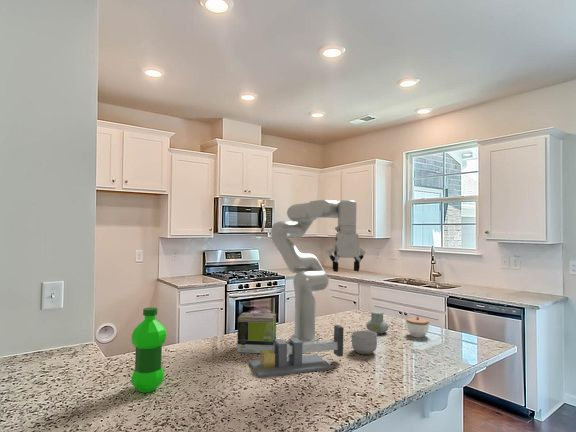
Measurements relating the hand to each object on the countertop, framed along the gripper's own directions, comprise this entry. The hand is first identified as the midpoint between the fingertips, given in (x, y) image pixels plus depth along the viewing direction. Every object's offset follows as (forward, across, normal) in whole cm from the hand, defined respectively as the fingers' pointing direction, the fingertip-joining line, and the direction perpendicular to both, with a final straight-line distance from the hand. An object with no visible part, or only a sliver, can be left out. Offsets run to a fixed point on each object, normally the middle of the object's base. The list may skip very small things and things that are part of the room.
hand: (346, 271), depth 158 cm
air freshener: (+35, +33, +27) cm, 55 cm away
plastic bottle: (+34, -76, -12) cm, 84 cm away
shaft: (+32, -17, -6) cm, 37 cm away
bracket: (+34, -26, -6) cm, 43 cm away
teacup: (+35, +11, +2) cm, 36 cm away
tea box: (+35, -33, +16) cm, 50 cm away
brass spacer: (+31, -33, -6) cm, 45 cm away
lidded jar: (+34, +49, +16) cm, 62 cm away
